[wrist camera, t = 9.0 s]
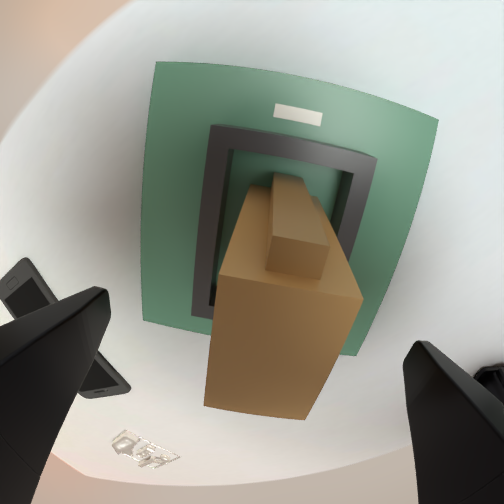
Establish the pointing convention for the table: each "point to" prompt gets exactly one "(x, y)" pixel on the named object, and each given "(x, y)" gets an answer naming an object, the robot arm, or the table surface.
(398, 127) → the board
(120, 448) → the stamped metal plate
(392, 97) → the table surface
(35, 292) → the cell phone
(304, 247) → the plug
